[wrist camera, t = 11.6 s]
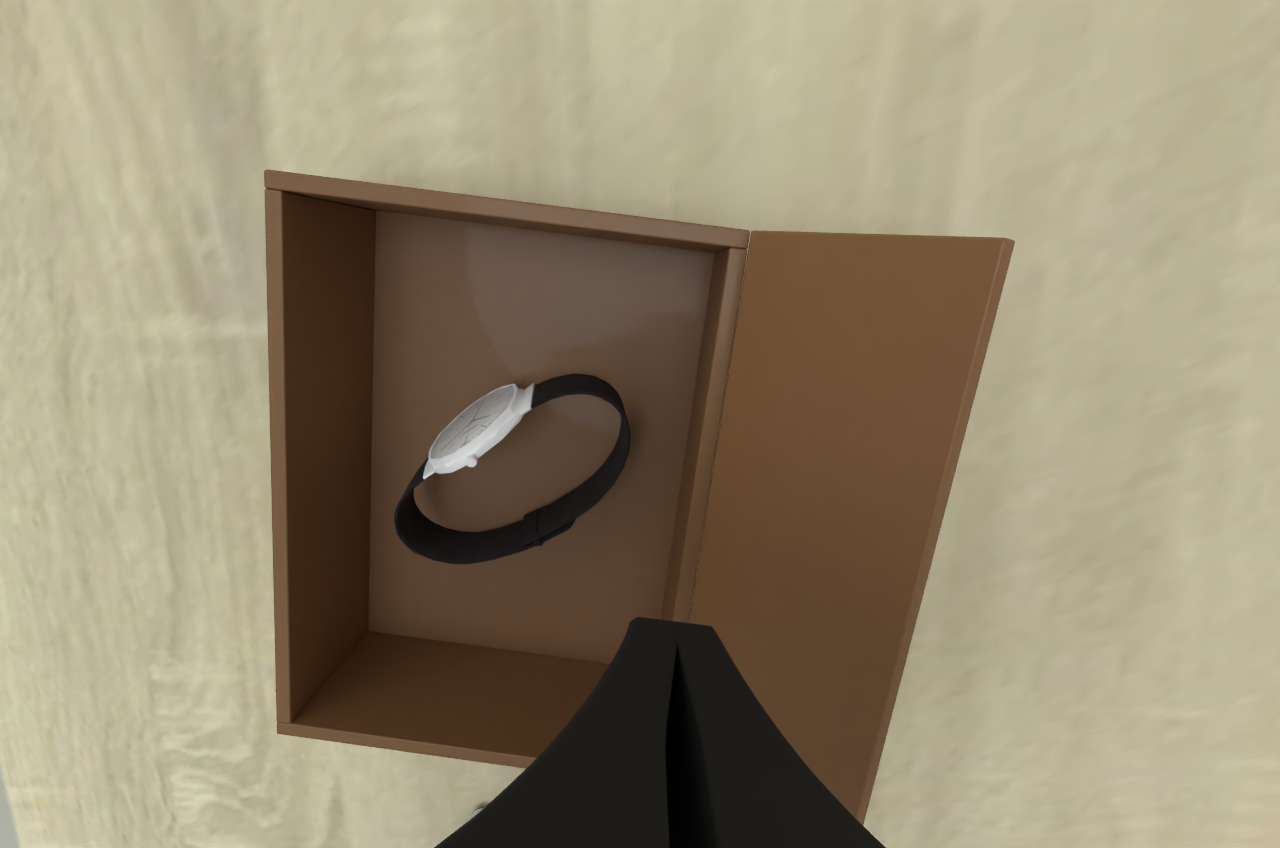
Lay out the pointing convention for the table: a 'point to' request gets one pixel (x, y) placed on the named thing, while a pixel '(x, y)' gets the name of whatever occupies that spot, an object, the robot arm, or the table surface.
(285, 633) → the carton
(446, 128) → the table surface
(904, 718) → the table surface
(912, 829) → the table surface
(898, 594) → the flap
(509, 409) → the watch
